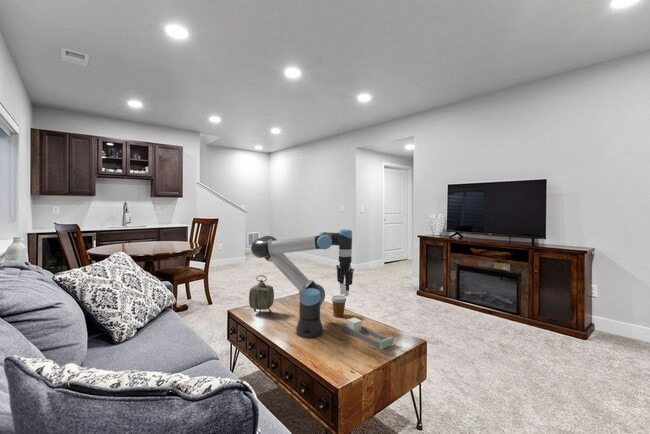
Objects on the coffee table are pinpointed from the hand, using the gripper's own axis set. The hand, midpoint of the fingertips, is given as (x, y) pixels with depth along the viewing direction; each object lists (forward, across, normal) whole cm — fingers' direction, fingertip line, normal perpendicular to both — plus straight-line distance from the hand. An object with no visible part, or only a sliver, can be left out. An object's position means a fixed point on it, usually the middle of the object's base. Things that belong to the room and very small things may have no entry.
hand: (344, 295), depth 186 cm
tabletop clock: (+19, +46, +31) cm, 59 cm away
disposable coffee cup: (+19, +14, -8) cm, 25 cm away
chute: (+19, -18, 0) cm, 26 cm away
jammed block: (+19, -9, 0) cm, 21 cm away
